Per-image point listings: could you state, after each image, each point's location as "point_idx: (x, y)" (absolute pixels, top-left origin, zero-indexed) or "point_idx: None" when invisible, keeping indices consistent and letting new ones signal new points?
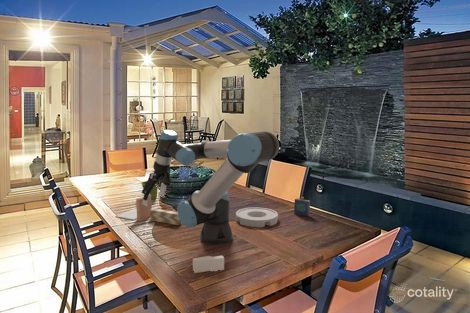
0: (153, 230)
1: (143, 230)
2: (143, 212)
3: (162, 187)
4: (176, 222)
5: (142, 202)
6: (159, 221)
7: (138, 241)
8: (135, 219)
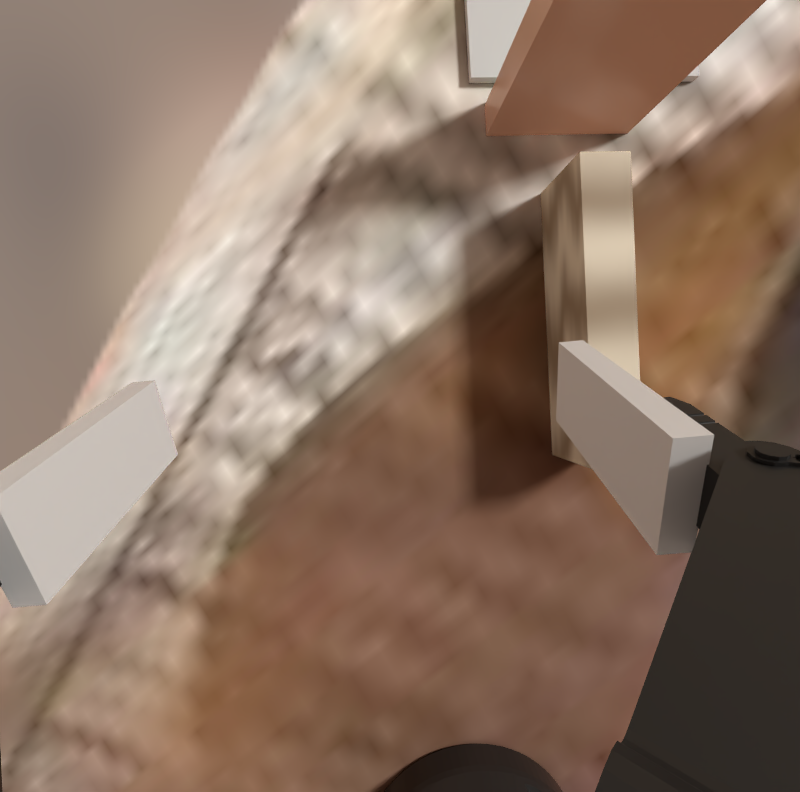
0: (374, 374)
1: (336, 309)
2: (551, 100)
3: (621, 442)
4: (559, 446)
5: (116, 394)
6: (545, 284)
7: None
8: (489, 82)
